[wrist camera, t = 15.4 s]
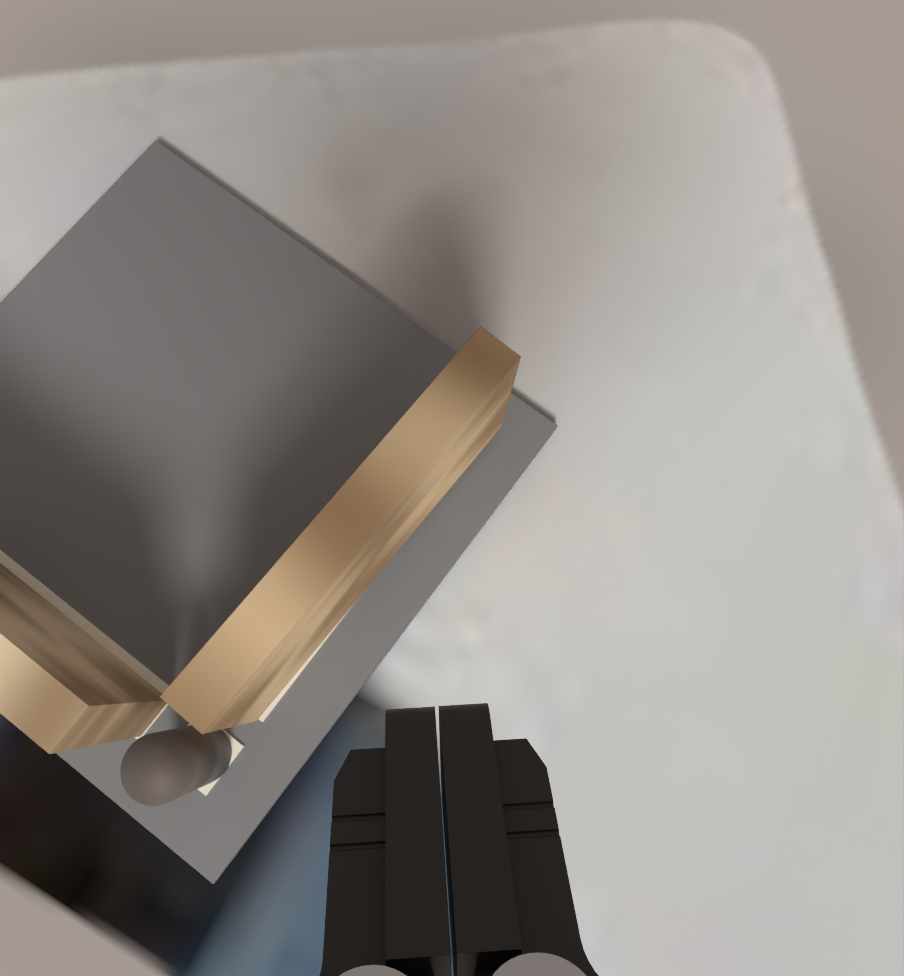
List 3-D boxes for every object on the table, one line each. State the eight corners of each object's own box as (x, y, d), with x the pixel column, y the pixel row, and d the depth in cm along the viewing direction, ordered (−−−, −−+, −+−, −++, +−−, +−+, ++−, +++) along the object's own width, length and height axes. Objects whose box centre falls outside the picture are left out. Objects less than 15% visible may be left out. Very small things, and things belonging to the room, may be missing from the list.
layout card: (-206, 530, 31) (-216, 527, 30) (159, 146, 34) (155, 139, 34) (216, 881, 28) (212, 885, 28) (555, 428, 32) (558, 425, 32)
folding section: (256, 721, 29) (202, 734, 22) (223, 693, 29) (159, 697, 22) (501, 427, 31) (520, 356, 24) (470, 402, 31) (480, 326, 25)
